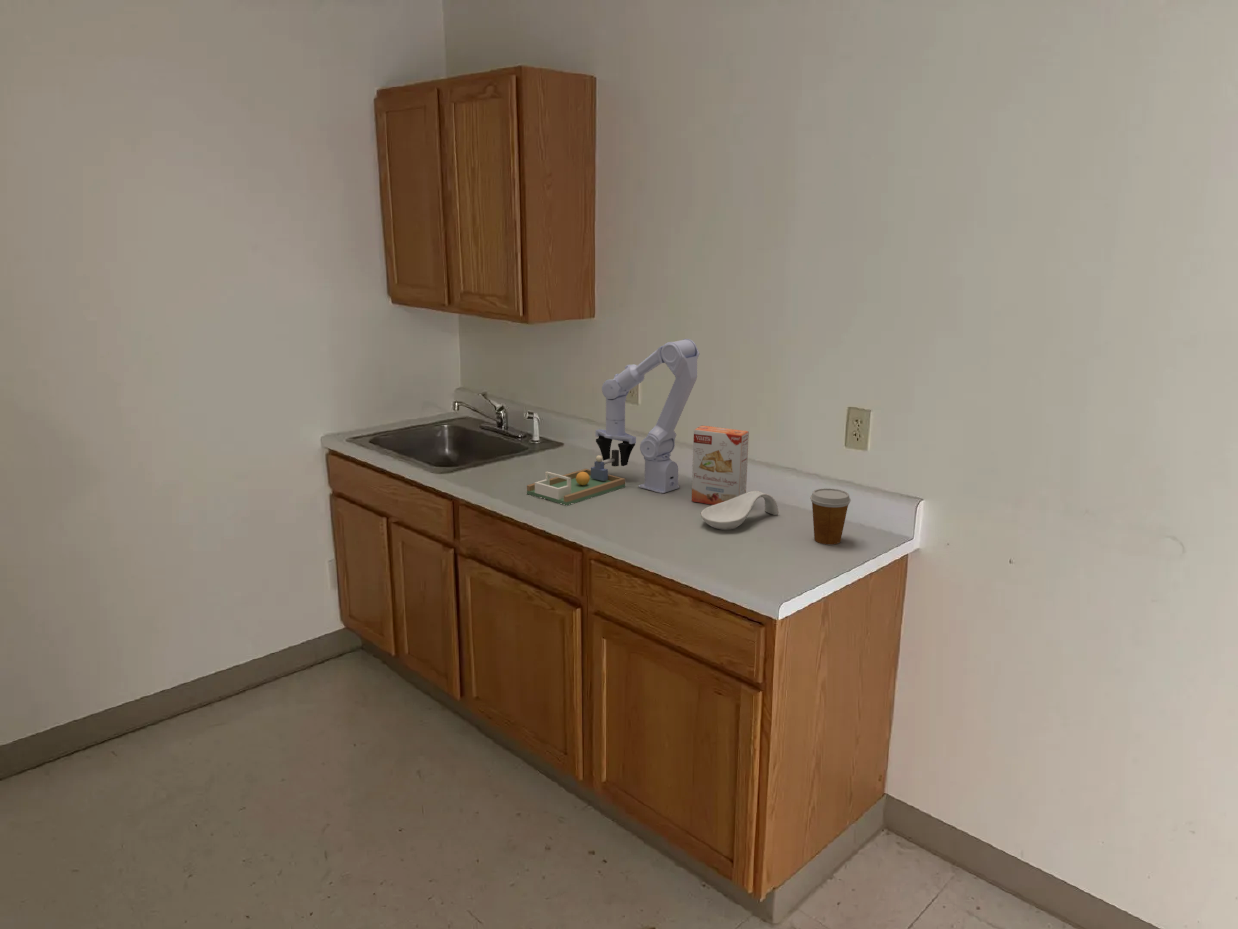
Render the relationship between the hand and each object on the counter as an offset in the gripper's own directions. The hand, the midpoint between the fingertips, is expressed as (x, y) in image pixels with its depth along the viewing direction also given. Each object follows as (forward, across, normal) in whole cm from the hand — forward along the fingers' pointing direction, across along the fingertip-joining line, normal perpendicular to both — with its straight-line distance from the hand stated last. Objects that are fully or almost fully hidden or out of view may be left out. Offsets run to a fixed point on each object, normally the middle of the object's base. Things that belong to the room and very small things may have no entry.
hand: (615, 463), depth 268 cm
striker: (+3, 0, -3) cm, 5 cm away
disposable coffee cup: (+5, +74, -4) cm, 74 cm away
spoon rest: (+5, +50, -7) cm, 51 cm away
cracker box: (+5, +37, +2) cm, 37 cm away
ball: (+2, 0, -14) cm, 14 cm away
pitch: (+5, 0, -16) cm, 17 cm away
